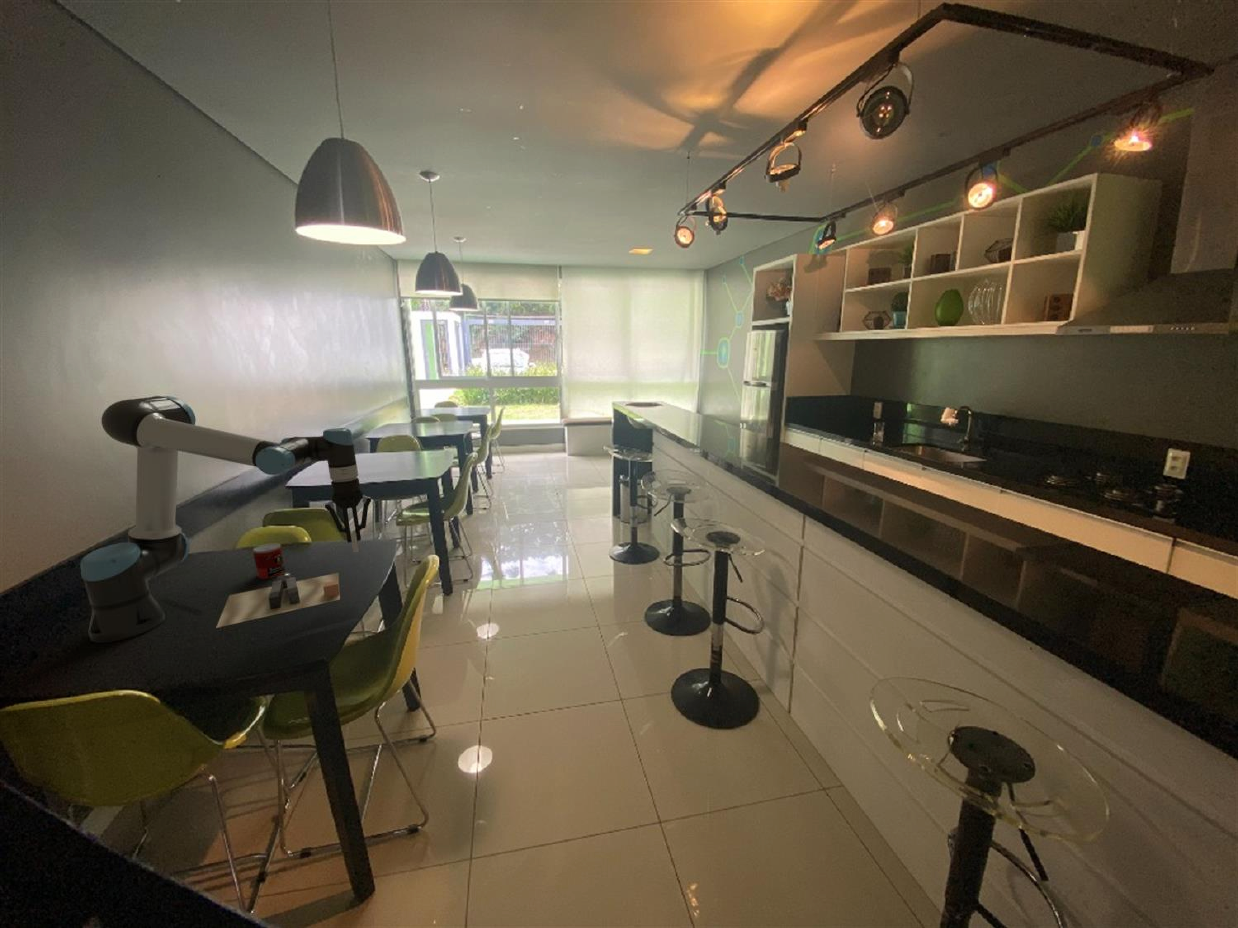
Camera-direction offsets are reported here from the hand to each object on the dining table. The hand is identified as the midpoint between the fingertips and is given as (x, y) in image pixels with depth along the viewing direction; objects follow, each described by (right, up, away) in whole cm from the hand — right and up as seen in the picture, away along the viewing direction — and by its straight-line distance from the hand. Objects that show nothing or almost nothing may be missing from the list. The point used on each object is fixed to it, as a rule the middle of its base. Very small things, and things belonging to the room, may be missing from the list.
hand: (355, 550), depth 154 cm
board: (-21, -15, -3) cm, 26 cm away
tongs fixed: (-22, -14, -1) cm, 26 cm away
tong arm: (-19, -14, -2) cm, 23 cm away
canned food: (-37, -12, +14) cm, 41 cm away
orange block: (-7, -13, -1) cm, 15 cm away
